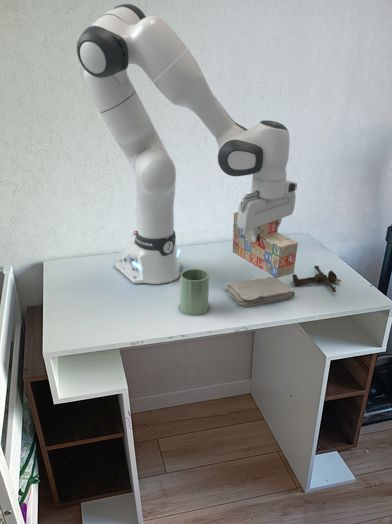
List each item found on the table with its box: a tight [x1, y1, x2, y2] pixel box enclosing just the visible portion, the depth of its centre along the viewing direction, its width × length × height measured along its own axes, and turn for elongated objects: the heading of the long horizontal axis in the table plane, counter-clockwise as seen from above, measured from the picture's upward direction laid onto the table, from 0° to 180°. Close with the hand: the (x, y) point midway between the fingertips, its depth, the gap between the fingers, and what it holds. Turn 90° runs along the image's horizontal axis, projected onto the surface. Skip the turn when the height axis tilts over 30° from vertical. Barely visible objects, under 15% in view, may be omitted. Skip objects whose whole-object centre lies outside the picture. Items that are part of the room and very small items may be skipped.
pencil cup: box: [179, 268, 210, 316], centre depth 142 cm, size 8×8×10 cm
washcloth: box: [226, 276, 296, 307], centre depth 151 cm, size 12×18×3 cm, turn 111°
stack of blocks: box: [232, 211, 299, 279], centre depth 143 cm, size 21×6×12 cm, turn 32°
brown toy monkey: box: [292, 265, 342, 293], centre depth 158 cm, size 18×4×14 cm
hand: (264, 237), depth 142 cm, fingers closed on stack of blocks, 6 cm apart
